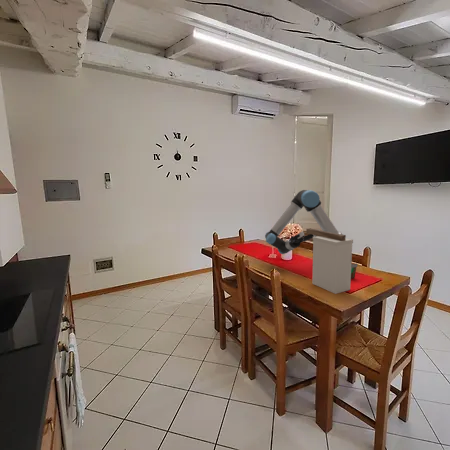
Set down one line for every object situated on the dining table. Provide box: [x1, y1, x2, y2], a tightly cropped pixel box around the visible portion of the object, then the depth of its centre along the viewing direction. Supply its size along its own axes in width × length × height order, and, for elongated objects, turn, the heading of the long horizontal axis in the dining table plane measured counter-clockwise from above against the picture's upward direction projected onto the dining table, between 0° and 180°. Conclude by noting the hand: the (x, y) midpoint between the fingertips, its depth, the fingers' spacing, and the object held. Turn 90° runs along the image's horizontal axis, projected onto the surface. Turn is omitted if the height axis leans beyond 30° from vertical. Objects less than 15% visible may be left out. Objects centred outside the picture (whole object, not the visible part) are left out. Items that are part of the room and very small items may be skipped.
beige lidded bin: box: [311, 236, 354, 295], centre depth 159 cm, size 13×18×30 cm
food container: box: [351, 263, 358, 280], centre depth 176 cm, size 12×6×10 cm, turn 36°
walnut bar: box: [305, 228, 347, 241], centre depth 162 cm, size 3×28×3 cm, turn 26°
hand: (311, 232), depth 171 cm, fingers open, 13 cm apart
